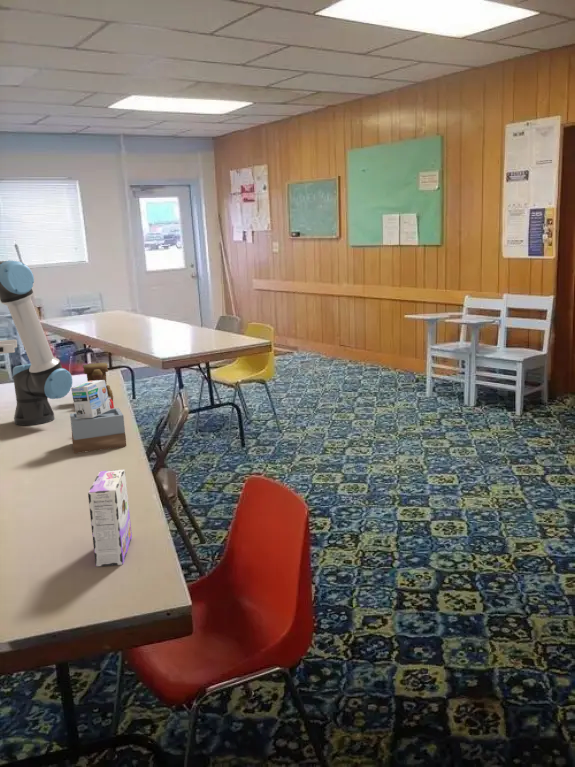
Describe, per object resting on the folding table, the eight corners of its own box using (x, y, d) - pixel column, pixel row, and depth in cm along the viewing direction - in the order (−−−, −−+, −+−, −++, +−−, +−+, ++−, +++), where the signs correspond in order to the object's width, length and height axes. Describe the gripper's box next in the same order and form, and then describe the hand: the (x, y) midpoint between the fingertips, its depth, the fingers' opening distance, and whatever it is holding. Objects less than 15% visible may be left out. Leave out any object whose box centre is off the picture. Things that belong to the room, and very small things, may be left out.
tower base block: (73, 444, 239) (71, 430, 238) (123, 438, 244) (122, 424, 243) (74, 454, 227) (72, 440, 226) (126, 447, 232) (125, 433, 231)
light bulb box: (93, 418, 227) (86, 386, 225) (76, 419, 229) (69, 387, 227) (111, 409, 237) (105, 379, 235) (95, 410, 239) (89, 380, 237)
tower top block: (71, 431, 237) (69, 413, 236) (120, 425, 243) (118, 407, 242) (74, 439, 226) (72, 421, 225) (125, 433, 232) (123, 415, 230)
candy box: (106, 540, 156) (98, 470, 152) (132, 538, 156) (125, 468, 153) (94, 567, 142) (86, 491, 139) (123, 565, 142) (115, 489, 139)
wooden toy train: (85, 400, 310) (81, 364, 307) (111, 398, 314) (107, 361, 310) (87, 409, 291) (83, 371, 288) (115, 406, 295) (111, 368, 292)
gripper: (-47, 357, 238) (19, 352, 244) (-59, 368, 214) (14, 361, 221) (-50, 336, 236) (16, 331, 242) (-62, 344, 213) (11, 338, 219)
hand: (15, 345), depth 232 cm, fingers open, 13 cm apart
